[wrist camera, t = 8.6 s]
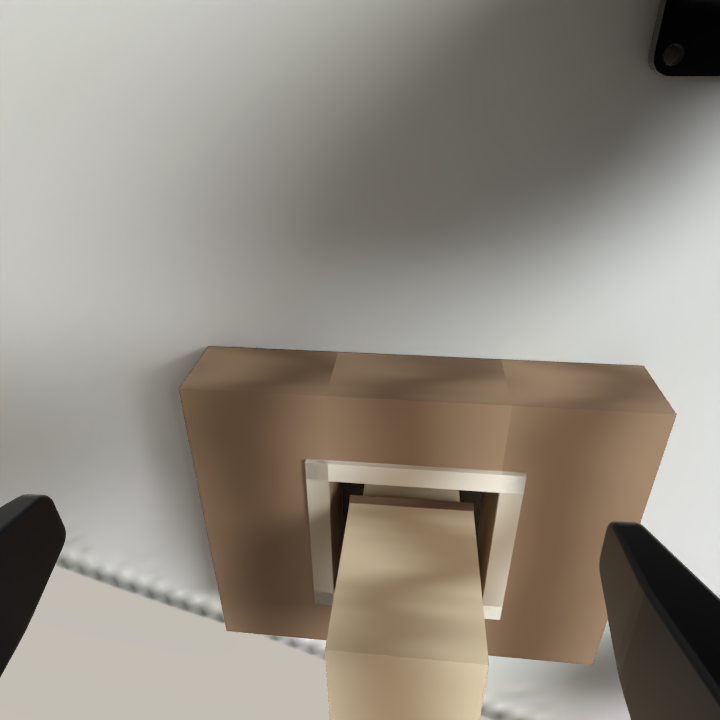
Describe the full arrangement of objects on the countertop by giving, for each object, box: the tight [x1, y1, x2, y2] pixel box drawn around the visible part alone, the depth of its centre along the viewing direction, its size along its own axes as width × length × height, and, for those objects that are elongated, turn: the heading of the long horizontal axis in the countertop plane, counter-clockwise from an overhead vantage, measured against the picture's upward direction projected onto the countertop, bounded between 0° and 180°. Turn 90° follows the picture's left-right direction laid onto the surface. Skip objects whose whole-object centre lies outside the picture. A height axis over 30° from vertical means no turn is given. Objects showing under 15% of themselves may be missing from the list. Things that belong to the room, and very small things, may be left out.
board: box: [179, 346, 677, 665], centre depth 22 cm, size 16×13×3 cm
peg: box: [325, 484, 489, 720], centre depth 20 cm, size 4×4×9 cm
